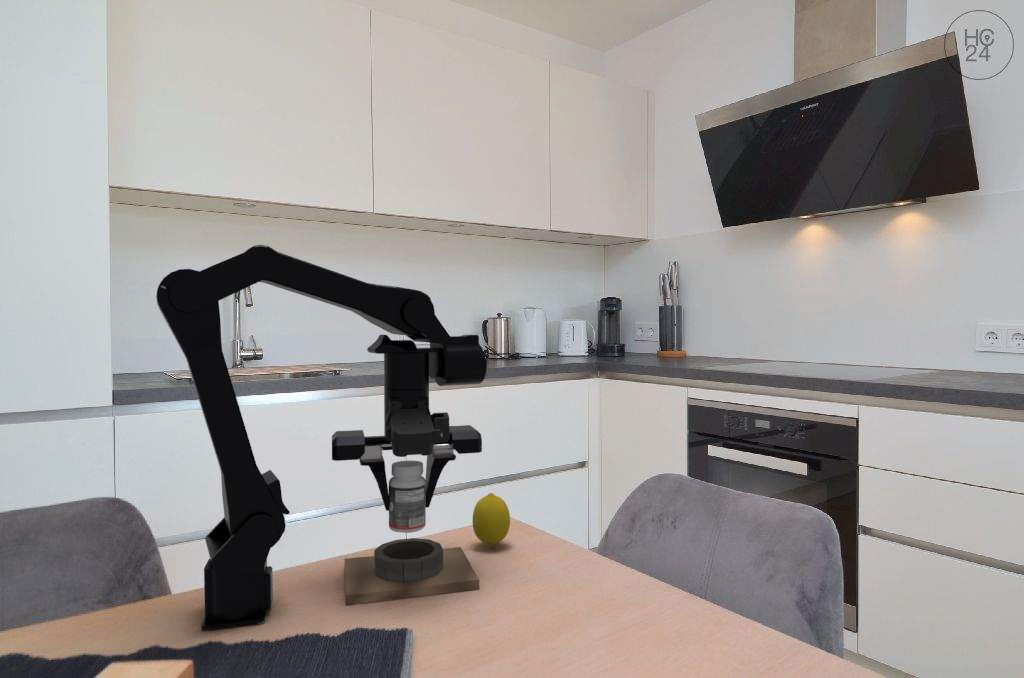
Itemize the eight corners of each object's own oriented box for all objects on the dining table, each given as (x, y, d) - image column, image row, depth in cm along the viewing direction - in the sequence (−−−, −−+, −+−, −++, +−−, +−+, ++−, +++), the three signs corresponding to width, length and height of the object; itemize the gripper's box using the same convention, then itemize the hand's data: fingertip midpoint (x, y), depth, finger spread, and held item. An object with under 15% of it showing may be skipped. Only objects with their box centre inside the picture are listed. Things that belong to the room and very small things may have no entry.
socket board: (346, 605, 75) (345, 574, 75) (344, 567, 87) (344, 540, 86) (479, 589, 79) (478, 559, 79) (460, 555, 91) (460, 529, 91)
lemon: (509, 553, 91) (509, 498, 91) (471, 553, 91) (470, 498, 91) (510, 540, 97) (510, 488, 97) (474, 540, 97) (473, 488, 97)
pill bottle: (392, 521, 85) (391, 459, 85) (427, 521, 85) (427, 459, 85) (385, 533, 80) (385, 467, 80) (423, 533, 80) (423, 467, 80)
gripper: (331, 397, 72) (332, 534, 72) (492, 392, 77) (492, 520, 77) (331, 387, 83) (332, 507, 83) (472, 383, 88) (472, 496, 88)
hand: (407, 508), depth 83 cm, fingers closed on pill bottle, 5 cm apart
